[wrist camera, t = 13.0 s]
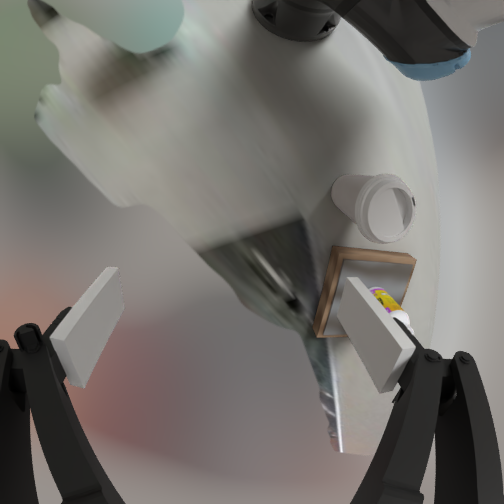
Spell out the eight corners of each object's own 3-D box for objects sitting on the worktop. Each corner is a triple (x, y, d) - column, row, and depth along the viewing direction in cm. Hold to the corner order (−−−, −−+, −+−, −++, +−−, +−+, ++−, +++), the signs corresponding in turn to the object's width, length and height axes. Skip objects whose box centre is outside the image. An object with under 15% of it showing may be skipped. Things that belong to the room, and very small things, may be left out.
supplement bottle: (370, 280, 47) (405, 317, 35) (391, 293, 49) (425, 329, 37) (349, 308, 49) (378, 351, 37) (371, 319, 50) (400, 359, 39)
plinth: (332, 245, 48) (340, 254, 45) (407, 253, 50) (418, 260, 47) (312, 327, 55) (317, 339, 51) (382, 325, 57) (390, 335, 53)
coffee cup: (370, 217, 47) (417, 244, 33) (323, 221, 46) (360, 252, 33) (370, 165, 43) (422, 176, 29) (321, 166, 43) (362, 175, 29)
